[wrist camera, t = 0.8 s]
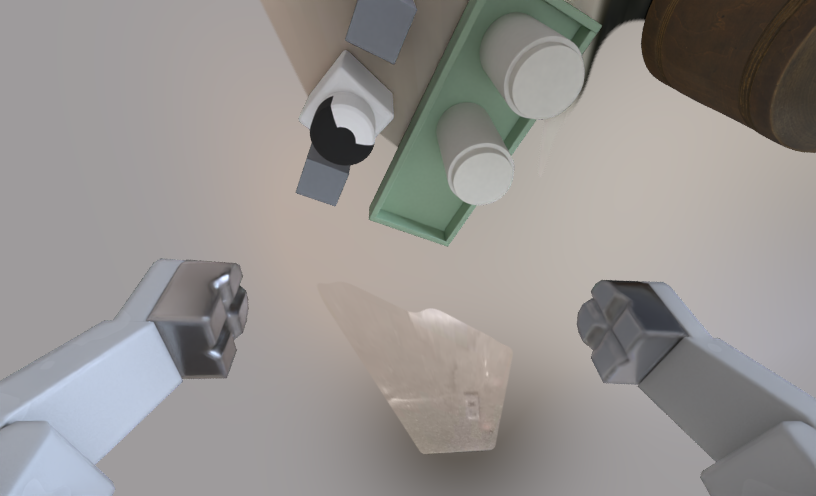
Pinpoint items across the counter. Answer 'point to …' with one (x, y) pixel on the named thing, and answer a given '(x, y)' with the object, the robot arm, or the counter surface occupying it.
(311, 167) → the grey box
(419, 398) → the counter surface
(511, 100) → the white bottle
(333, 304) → the counter surface
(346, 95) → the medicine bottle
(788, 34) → the wooden container
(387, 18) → the grey box
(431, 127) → the tray
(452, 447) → the counter surface
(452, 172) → the white bottle
